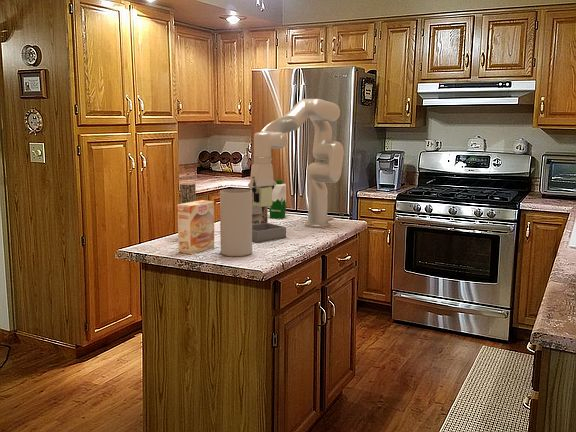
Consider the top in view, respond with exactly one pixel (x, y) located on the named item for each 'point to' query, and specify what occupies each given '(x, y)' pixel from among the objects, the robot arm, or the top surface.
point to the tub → (267, 232)
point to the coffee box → (259, 214)
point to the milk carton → (278, 201)
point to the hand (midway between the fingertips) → (262, 201)
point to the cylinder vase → (236, 222)
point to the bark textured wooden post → (187, 192)
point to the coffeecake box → (195, 226)
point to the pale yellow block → (264, 197)
